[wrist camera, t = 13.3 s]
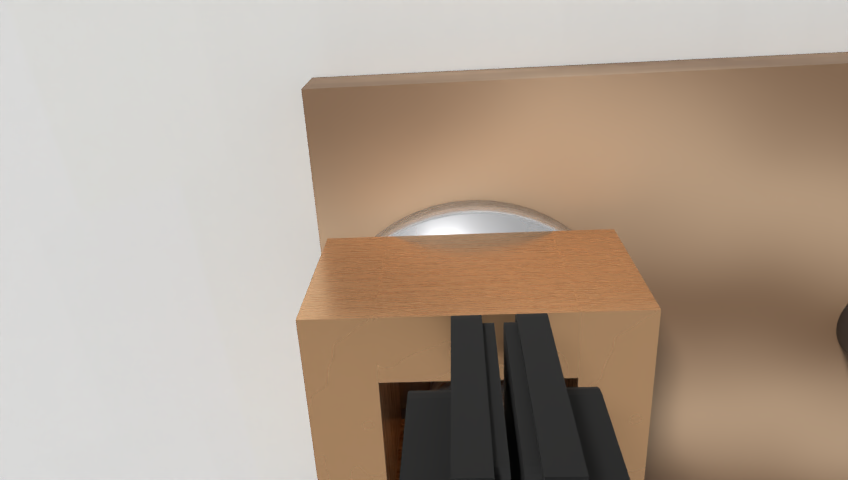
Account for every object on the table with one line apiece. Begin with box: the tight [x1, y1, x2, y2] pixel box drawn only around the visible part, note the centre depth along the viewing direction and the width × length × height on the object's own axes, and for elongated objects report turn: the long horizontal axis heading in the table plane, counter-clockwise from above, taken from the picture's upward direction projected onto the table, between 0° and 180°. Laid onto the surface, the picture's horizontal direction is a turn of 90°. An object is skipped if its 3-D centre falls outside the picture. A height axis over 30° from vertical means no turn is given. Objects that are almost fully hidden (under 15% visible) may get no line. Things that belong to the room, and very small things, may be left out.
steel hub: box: [375, 200, 571, 419], centre depth 16 cm, size 8×8×6 cm
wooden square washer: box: [296, 229, 661, 480], centre depth 17 cm, size 7×7×4 cm
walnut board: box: [301, 52, 848, 480], centre depth 18 cm, size 14×19×6 cm
